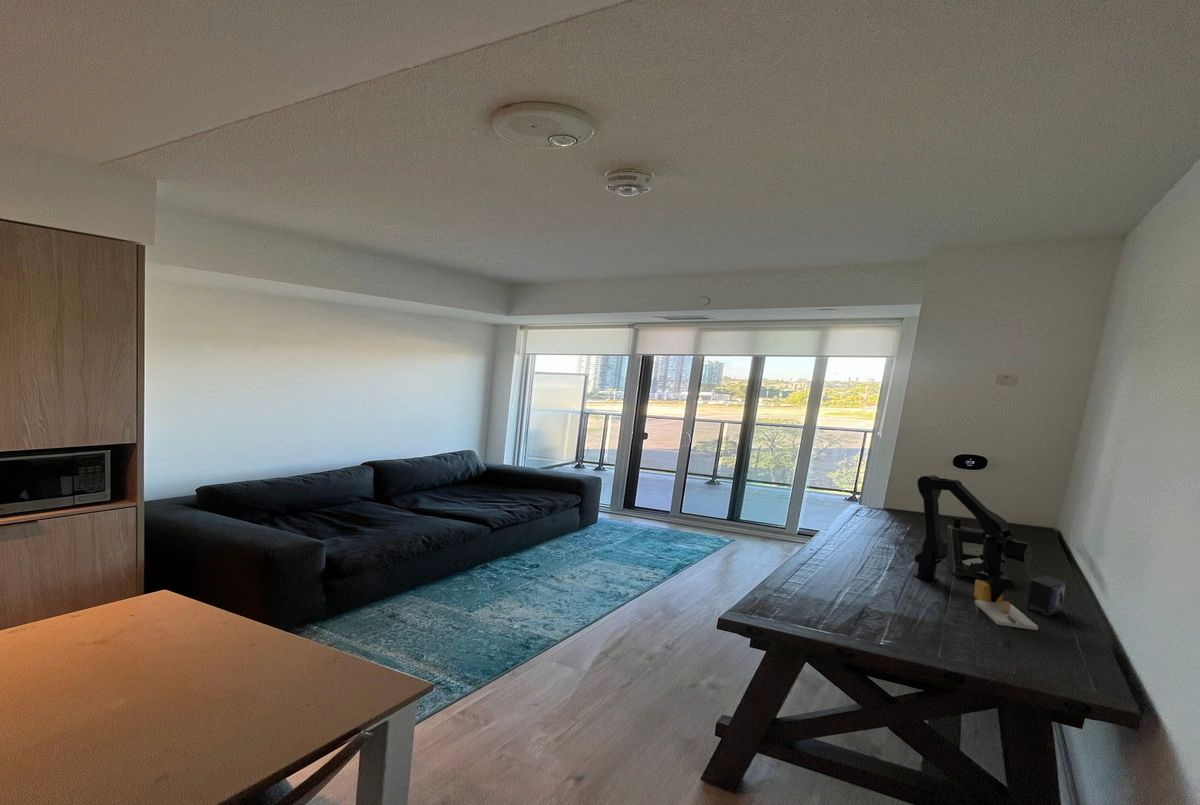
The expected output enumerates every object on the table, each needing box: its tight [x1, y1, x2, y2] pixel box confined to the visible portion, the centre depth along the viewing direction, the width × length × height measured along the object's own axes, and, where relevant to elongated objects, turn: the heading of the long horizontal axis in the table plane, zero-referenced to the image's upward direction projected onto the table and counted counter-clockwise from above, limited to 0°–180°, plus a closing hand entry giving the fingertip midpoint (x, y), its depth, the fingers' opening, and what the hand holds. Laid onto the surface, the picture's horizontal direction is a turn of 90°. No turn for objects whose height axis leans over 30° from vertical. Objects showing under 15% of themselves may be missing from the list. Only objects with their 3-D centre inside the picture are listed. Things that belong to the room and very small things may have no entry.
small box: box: [1025, 575, 1067, 617], centre depth 181 cm, size 11×6×10 cm, turn 117°
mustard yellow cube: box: [973, 579, 1004, 603], centre depth 186 cm, size 6×6×6 cm
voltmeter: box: [944, 517, 1005, 578], centre depth 212 cm, size 16×16×20 cm
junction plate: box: [974, 599, 1039, 631], centre depth 175 cm, size 16×11×5 cm, turn 166°
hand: (988, 597), depth 186 cm, fingers open, 7 cm apart
